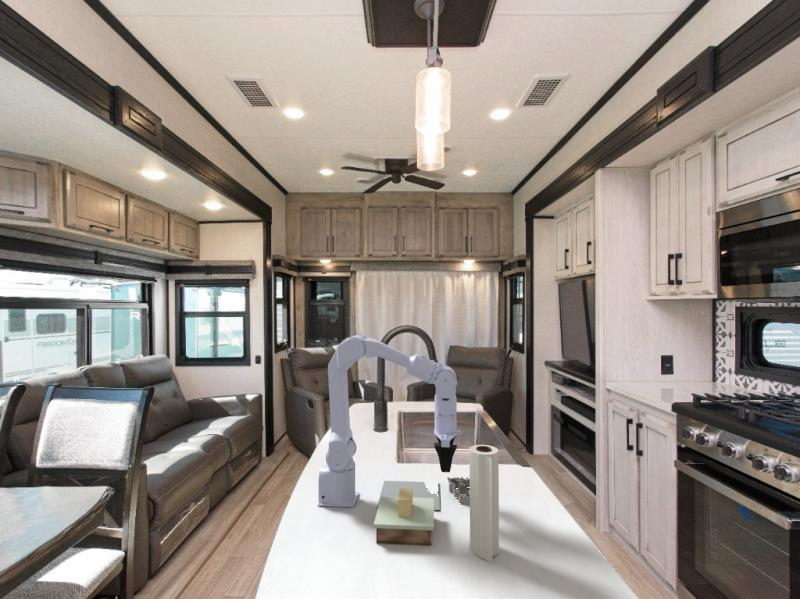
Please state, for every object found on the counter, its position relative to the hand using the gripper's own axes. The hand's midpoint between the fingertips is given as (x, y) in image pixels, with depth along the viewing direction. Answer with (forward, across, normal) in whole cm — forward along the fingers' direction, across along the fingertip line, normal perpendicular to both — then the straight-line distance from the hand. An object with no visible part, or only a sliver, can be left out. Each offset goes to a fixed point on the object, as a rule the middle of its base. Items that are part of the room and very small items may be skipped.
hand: (445, 465), depth 106 cm
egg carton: (+10, +6, -5) cm, 13 cm away
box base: (+10, -13, +9) cm, 19 cm away
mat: (+10, +4, +10) cm, 15 cm away
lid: (+6, -13, +9) cm, 17 cm away
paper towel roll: (+10, -19, -8) cm, 23 cm away
